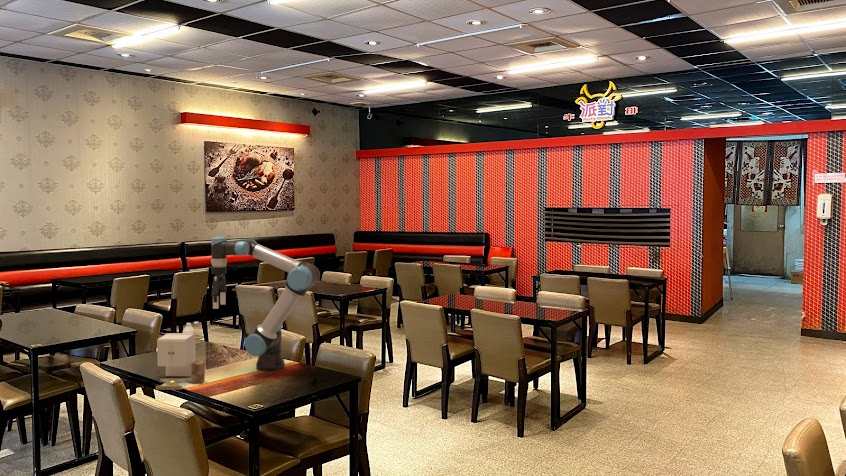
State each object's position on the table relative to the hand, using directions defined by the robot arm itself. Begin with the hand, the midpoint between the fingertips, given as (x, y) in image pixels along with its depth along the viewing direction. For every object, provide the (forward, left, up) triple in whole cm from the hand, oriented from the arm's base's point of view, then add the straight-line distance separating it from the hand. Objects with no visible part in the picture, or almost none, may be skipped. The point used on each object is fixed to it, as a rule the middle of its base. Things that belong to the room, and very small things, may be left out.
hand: (219, 306), depth 345 cm
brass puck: (+15, +28, -34) cm, 47 cm away
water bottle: (+17, -6, -35) cm, 39 cm away
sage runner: (+15, +24, -35) cm, 45 cm away
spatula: (+13, +21, -34) cm, 43 cm away
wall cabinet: (+18, +15, -35) cm, 42 cm away
